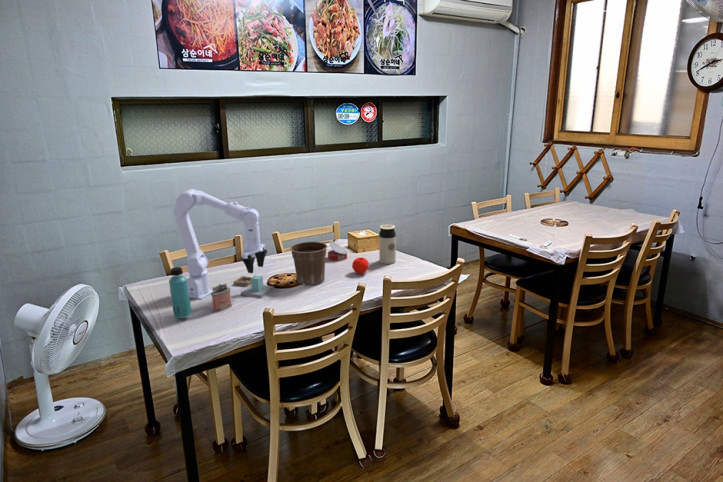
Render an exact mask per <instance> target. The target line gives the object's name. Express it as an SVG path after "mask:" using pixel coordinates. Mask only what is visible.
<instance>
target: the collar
mask: <svg viewBox="0 0 723 482" xmlns="http://www.w3.org/2000/svg"><path fill="white" fill-rule="evenodd" d="M252 277H253V276H246V275H244V276H243V275H242V276H241V277H239V278H237V279H235V280H234V281H233V285H234V286H241V287H250V286H251V278H252Z"/></svg>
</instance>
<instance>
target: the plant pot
mask: <svg viewBox="0 0 723 482" xmlns="http://www.w3.org/2000/svg"><path fill="white" fill-rule="evenodd" d="M327 248H328V244H326V243H324V242H321V241H302V242H299V243H295V244H292V245H291V246H290V248H289V250H290V252H291V255H292V258H293V263H294V269H295V275H296V282H297V283H298V285H301V286H302V285H304V286H306V287H307V286H310V287H311V286H316V285H320V284H322V283H323V282H325V275H326V274H325V271H326V255H327Z"/></svg>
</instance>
